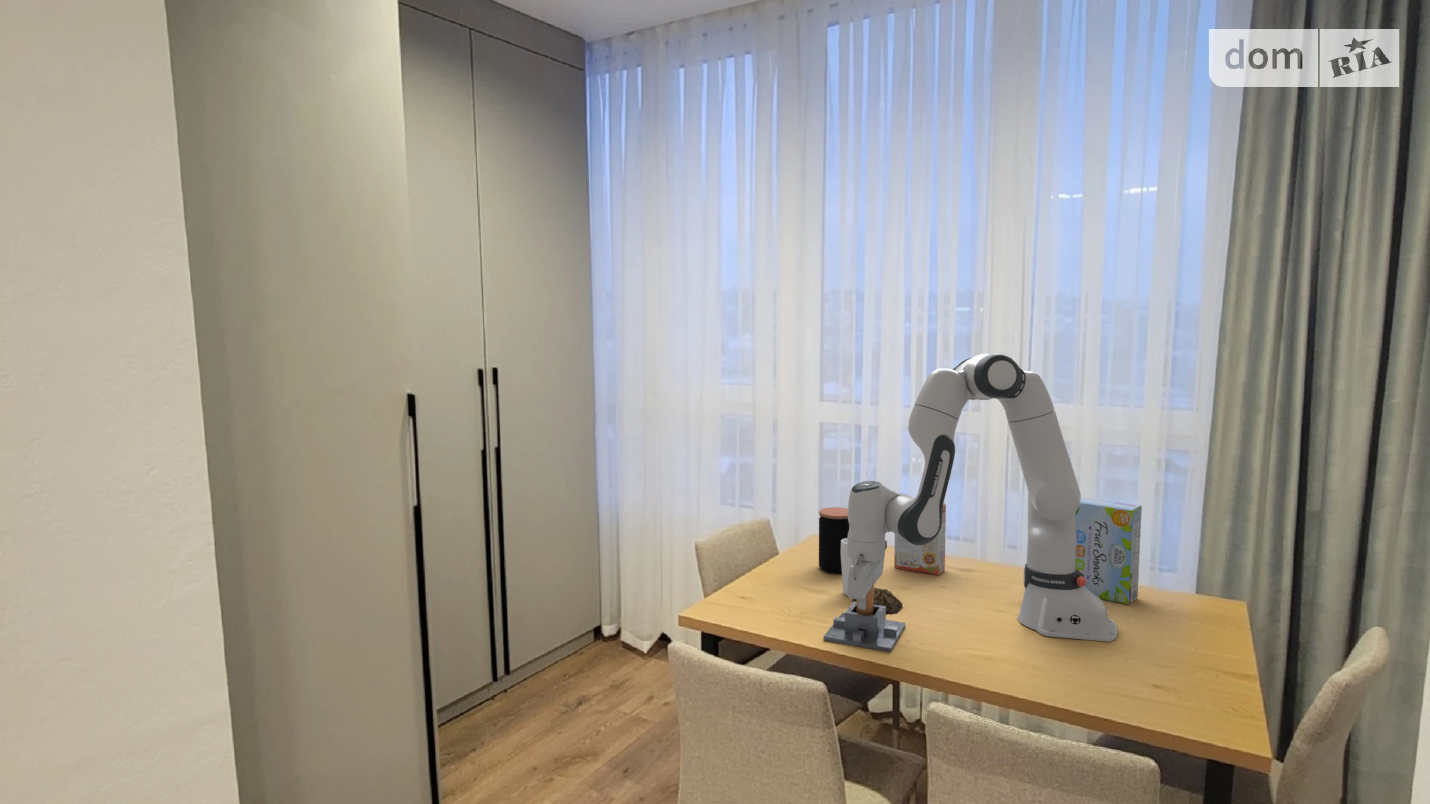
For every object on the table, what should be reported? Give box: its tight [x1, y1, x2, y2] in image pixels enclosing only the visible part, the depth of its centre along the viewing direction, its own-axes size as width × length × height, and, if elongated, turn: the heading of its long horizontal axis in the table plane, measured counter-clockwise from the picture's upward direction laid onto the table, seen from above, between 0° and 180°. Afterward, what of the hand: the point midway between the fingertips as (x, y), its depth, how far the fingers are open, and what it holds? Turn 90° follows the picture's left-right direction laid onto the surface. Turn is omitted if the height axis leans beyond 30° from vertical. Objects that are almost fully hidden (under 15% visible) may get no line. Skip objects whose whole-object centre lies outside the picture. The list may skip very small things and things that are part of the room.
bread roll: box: [851, 587, 903, 614], centre depth 205 cm, size 13×12×5 cm
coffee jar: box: [818, 506, 849, 575], centre depth 233 cm, size 11×11×18 cm
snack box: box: [1075, 497, 1143, 605], centre depth 211 cm, size 22×9×26 cm, turn 46°
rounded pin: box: [856, 578, 875, 615], centre depth 186 cm, size 4×4×11 cm
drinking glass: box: [841, 538, 853, 596], centre depth 213 cm, size 7×7×15 cm
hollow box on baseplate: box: [823, 601, 906, 653], centre depth 187 cm, size 16×16×6 cm
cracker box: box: [893, 502, 947, 576], centre depth 232 cm, size 14×6×21 cm, turn 56°
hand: (865, 604), depth 186 cm, fingers closed on rounded pin, 4 cm apart
